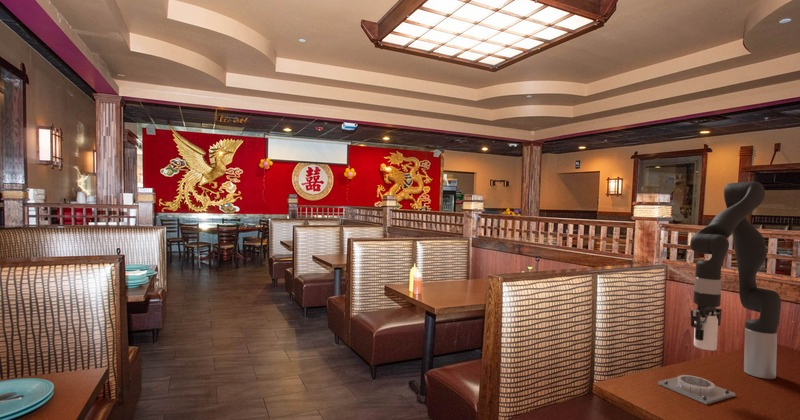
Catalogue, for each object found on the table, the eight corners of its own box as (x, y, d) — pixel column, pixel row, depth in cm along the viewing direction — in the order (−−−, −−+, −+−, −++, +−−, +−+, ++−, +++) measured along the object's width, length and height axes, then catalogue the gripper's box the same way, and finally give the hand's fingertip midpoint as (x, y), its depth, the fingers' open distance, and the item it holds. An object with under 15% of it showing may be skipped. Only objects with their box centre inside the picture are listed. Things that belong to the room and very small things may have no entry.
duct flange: (685, 377, 152) (686, 369, 152) (735, 396, 137) (735, 387, 137) (658, 384, 145) (658, 376, 145) (706, 404, 131) (706, 395, 131)
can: (721, 352, 136) (722, 316, 136) (699, 350, 137) (701, 315, 137) (710, 345, 143) (711, 312, 142) (689, 343, 144) (691, 310, 144)
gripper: (707, 288, 146) (705, 333, 146) (683, 290, 140) (681, 337, 140) (731, 292, 139) (729, 340, 140) (706, 294, 133) (704, 344, 134)
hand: (705, 338), depth 140 cm, fingers closed on can, 6 cm apart
